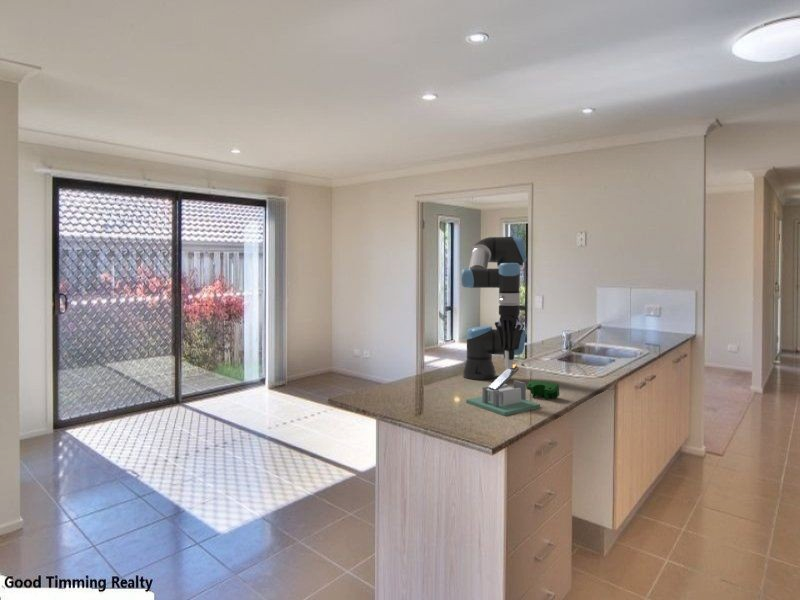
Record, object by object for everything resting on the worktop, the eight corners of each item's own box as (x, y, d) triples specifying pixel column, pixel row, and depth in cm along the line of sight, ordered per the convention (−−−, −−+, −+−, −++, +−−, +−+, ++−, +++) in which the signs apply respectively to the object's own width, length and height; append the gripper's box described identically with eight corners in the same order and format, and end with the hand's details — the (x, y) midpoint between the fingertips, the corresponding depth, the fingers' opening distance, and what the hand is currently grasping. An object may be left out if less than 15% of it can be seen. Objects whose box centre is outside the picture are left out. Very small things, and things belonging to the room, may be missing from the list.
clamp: (532, 407, 198) (521, 387, 198) (538, 400, 202) (528, 380, 202) (557, 401, 189) (546, 380, 190) (564, 394, 194) (553, 373, 194)
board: (501, 395, 199) (502, 376, 199) (540, 407, 183) (541, 386, 182) (466, 402, 190) (466, 383, 189) (504, 415, 173) (504, 394, 172)
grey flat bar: (512, 366, 190) (510, 363, 190) (519, 368, 187) (518, 365, 186) (489, 388, 185) (487, 385, 184) (496, 391, 181) (495, 387, 181)
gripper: (489, 304, 188) (489, 366, 190) (514, 306, 177) (514, 371, 179) (503, 303, 192) (503, 364, 194) (529, 305, 181) (529, 369, 183)
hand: (508, 367), depth 186 cm, fingers closed
